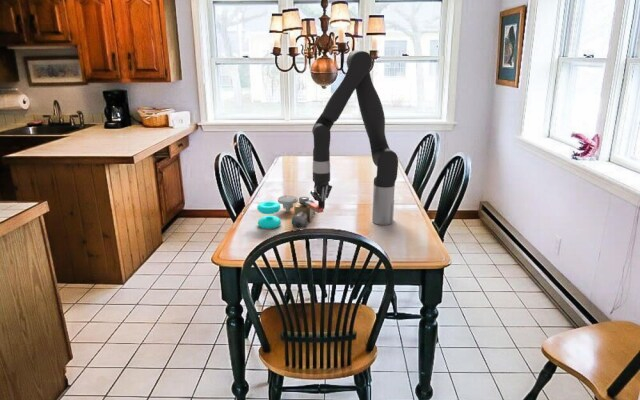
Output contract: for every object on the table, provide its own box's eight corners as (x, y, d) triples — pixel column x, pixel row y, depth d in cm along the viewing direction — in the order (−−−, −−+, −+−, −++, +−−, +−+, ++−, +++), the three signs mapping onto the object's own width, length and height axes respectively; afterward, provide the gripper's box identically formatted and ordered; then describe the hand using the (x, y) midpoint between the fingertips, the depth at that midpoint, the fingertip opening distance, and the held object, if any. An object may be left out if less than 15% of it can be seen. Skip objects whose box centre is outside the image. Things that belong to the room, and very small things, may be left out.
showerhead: (289, 201, 215) (273, 197, 221) (289, 216, 217) (274, 211, 223) (302, 196, 222) (287, 192, 228) (302, 210, 224) (287, 206, 230)
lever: (297, 202, 212) (297, 197, 211) (306, 200, 214) (306, 196, 213) (316, 213, 198) (316, 208, 197) (325, 212, 200) (325, 207, 199)
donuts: (278, 199, 209) (281, 206, 200) (279, 220, 212) (282, 228, 203) (255, 201, 207) (258, 208, 198) (256, 222, 210) (259, 230, 201)
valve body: (317, 211, 223) (317, 196, 220) (305, 228, 203) (305, 212, 200) (302, 210, 224) (302, 195, 222) (290, 227, 204) (289, 211, 202)
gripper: (318, 175, 192) (319, 214, 198) (337, 168, 202) (337, 206, 207) (304, 172, 196) (305, 211, 202) (323, 165, 206) (323, 203, 212)
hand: (321, 208), depth 205 cm, fingers closed
